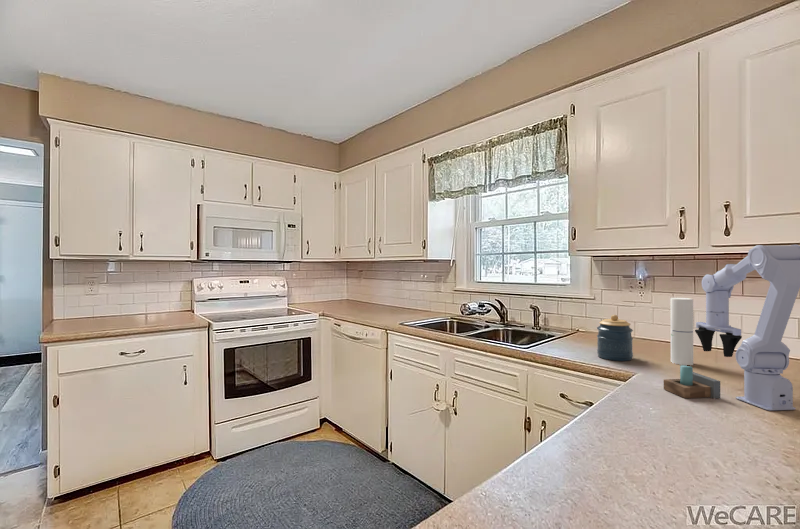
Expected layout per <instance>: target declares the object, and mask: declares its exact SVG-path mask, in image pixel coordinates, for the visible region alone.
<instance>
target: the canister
mask: <svg viewBox="0 0 800 529" xmlns="http://www.w3.org/2000/svg"><path fill="white" fill-rule="evenodd" d="M598 323H599V325H598V326H597V327H596V328H597V330H598V332H597V333H598V334H597V335H596V337H597V339H596V340H597V345H596V346H597V349H596V350H597V351H596V353H597V357H599V358H600V359H604V360H608V359H609V361H617V362H627V361H628V362H629V361H631V360H633V357H634V353H633V340H634V338H633V337H632V336H633V335H632V332H634V330H633V328H631V327H630V326H631V323H629V322H628V321H627V320H625V319H619V316H618V315H617V314H612V315H611V316H610V318H604V319H602V320H601V321H599V322H598Z"/></svg>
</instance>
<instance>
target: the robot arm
mask: <svg viewBox="0 0 800 529" xmlns="http://www.w3.org/2000/svg"><path fill="white" fill-rule="evenodd" d="M754 271H756V272H757V273H758V274H759V276H760V277H761V279H763V280H766V281H768V282H769V287H768V290H767V293H766V296H765V300H764V303H763V306H762V309H761V311H760V312H761V313H760V315H759V318H758V321H757V325H756V328H755V331H754V334H753V335H751V336H749V337H747V338H745V339H743V340H742V342H741V344H740V346H739V347H738V348H737V349H736V347H737V345H738V344H739V342H740V340H741V339H742V338H743V335H742V329H741V328H737V327H733V326H731V325H730V323H729V322H730V310H729V308H730V306H729V305H730V300H729V299H730V298H731V297H732V292H733V290H734V288H735V287H734V286H736V285H738V284H739V283H741V282H743V281H744V280H746V279H747V276H748V274H749V273H751V272H754ZM701 288H702V290H703V292H704V293H705V322H704V321H696V322H695V328H696V329H694V332H695V334H696V335H697V337H698V339H699V341H700V343H701V347H702V350H703V352H711V351H712V348H713V339H714V336H715V332H718V333H720V334H719V337H720V339H721V343H722V349H723V356H724V357H725V358H731V357H732V358H733V355H734V352H735V360H736V362H737V364H738V365H739V367H740V368H741V370H743V371H744V372H743V375H744V376H743V382H744V383H743V384H744V386H743V387H744V388H743V392H744V394H743V395H744V396H735V399H736V400H739V401H742V402H745V403H747V404H750V405H752V406H756V407H758V408H761V409H763V410H766V411H793V410H796V407H794V405H793V403H794V402H793V401H794V399H793V397H794V395H793V394H794V393H793V392H794V391H793V390H794V389H793V388H794V387H793V384H792V382H791V381H790V380H789V378H787V377H784V376H782V374H784V371H785V370H787V368H789V364H790V357H789V356H790V352H791V350H790V348H789V347H788V345H787V344H785V343H784V342H783V340H782V339H783V337H784V334H785V330H786V328H787V325H788V322H789V319H790V317H791V314H792V311H793V308H794V305H795V302H796V299H797V296H798V294H799V291H800V245H799V244H789V245H784V244H783V245H781V244H780V245H762V244H757V245H755V246H753V247H752V248H750V249H748V253H747V255H746V256H745V257H744V258H743V259H741V260H740V261H738V263H727V264H726V265H724V267H723V268H722V269H720V270H717V271H716V272H715V273H713V274H708V273H707V274H705V275H704V276H703V277H702V278H701ZM735 349H736V351H735Z"/></svg>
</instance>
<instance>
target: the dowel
mask: <svg viewBox="0 0 800 529" xmlns="http://www.w3.org/2000/svg"><path fill="white" fill-rule="evenodd" d="M693 370H694V368H693V366H692V365H690V366H687V365H679V371H680V372H679V376H680V377H679V379H680V384H682V385H685V386H692V385H693V372H694V371H693Z"/></svg>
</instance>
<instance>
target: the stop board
mask: <svg viewBox="0 0 800 529" xmlns="http://www.w3.org/2000/svg"><path fill="white" fill-rule="evenodd" d="M693 381H696V382H699V383H701V384H704V385H707V386H709V387H711V397H710V399H713V398H720V399H721V380H718V379H716V378H711V377H709V376H706V375H703V374H700V373H698V372H694V371H693Z"/></svg>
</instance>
